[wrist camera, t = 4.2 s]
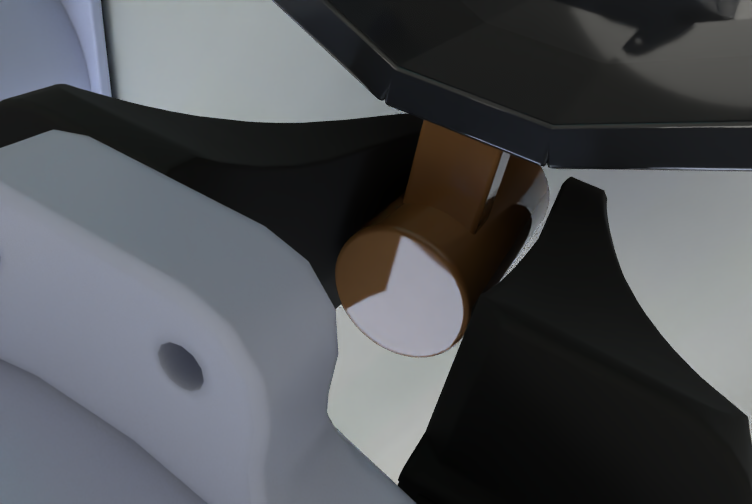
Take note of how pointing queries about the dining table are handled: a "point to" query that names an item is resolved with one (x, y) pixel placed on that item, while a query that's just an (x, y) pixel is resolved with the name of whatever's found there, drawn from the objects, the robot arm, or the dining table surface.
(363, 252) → the cooking pot
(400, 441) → the dining table surface
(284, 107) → the dining table surface
